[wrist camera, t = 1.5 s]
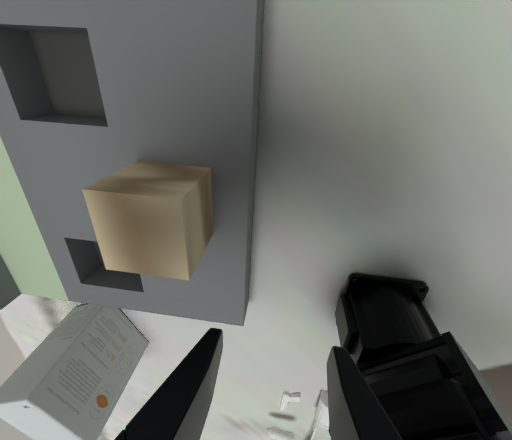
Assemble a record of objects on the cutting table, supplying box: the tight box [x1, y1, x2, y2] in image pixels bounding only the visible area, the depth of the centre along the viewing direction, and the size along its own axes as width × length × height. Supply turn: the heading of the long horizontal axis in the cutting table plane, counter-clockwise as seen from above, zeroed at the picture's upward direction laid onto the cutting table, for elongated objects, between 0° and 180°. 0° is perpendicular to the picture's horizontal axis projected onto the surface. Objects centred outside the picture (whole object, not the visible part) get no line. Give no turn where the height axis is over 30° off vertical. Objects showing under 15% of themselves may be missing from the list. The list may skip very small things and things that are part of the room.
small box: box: [0, 304, 148, 440], centre depth 26 cm, size 8×6×10 cm
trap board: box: [0, 0, 264, 326], centre depth 19 cm, size 23×24×5 cm
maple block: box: [82, 161, 213, 280], centre depth 16 cm, size 5×5×5 cm
